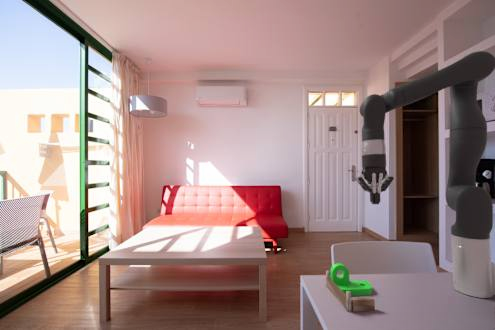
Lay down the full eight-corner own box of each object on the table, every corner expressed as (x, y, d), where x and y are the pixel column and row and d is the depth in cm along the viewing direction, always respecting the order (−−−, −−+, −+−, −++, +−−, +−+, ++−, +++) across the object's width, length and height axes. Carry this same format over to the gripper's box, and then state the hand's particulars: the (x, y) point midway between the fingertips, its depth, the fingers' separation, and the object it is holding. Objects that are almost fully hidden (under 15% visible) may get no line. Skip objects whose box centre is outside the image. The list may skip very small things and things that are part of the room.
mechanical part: (337, 296, 77) (337, 270, 78) (330, 287, 83) (330, 263, 84) (375, 295, 78) (375, 269, 78) (365, 286, 84) (365, 262, 84)
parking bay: (347, 284, 85) (347, 269, 85) (375, 310, 69) (374, 291, 69) (325, 285, 84) (325, 270, 85) (347, 311, 68) (347, 293, 69)
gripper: (385, 154, 92) (387, 202, 91) (350, 154, 91) (351, 203, 90) (399, 152, 84) (401, 204, 83) (360, 153, 83) (362, 205, 82)
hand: (375, 204), depth 87 cm, fingers closed
